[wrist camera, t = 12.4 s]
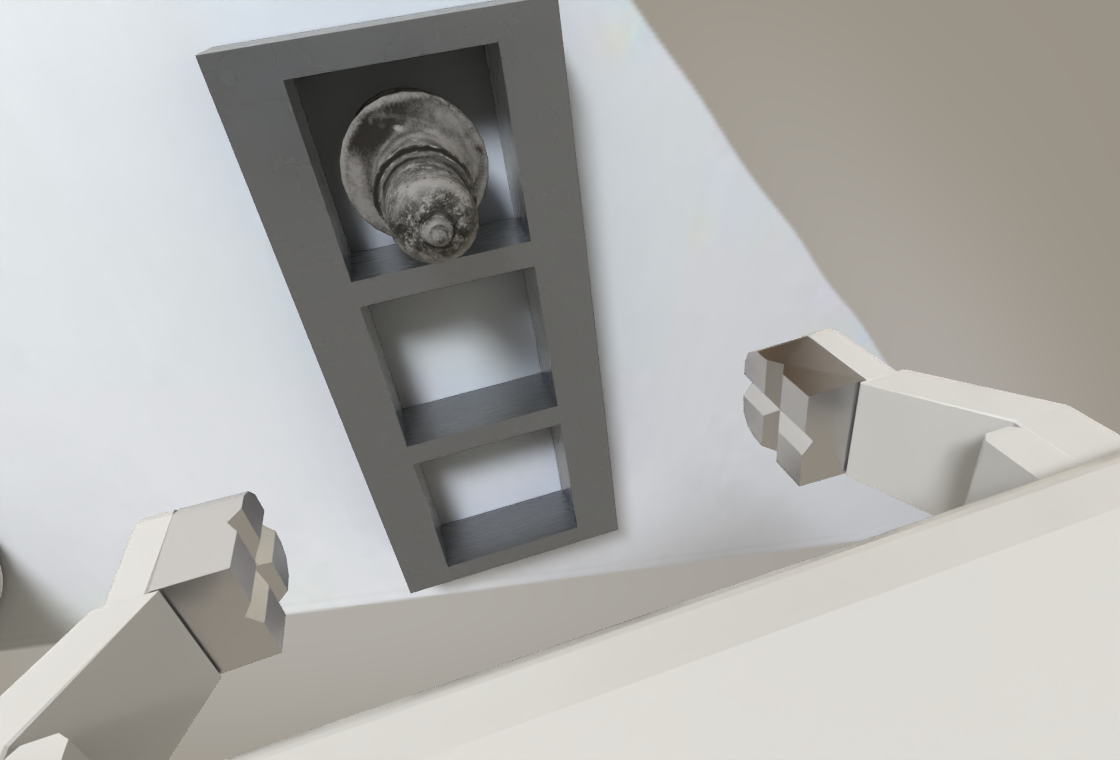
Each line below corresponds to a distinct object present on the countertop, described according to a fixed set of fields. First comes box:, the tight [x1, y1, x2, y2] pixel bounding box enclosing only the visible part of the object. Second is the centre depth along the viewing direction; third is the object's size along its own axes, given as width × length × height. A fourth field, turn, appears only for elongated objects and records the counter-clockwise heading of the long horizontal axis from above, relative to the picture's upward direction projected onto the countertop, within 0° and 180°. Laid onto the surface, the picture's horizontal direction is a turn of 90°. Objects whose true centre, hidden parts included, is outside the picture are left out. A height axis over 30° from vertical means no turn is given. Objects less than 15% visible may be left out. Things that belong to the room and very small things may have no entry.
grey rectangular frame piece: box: [195, 0, 618, 593], centre depth 32 cm, size 13×29×4 cm, turn 9°
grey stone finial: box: [340, 88, 488, 264], centre depth 24 cm, size 6×6×12 cm
